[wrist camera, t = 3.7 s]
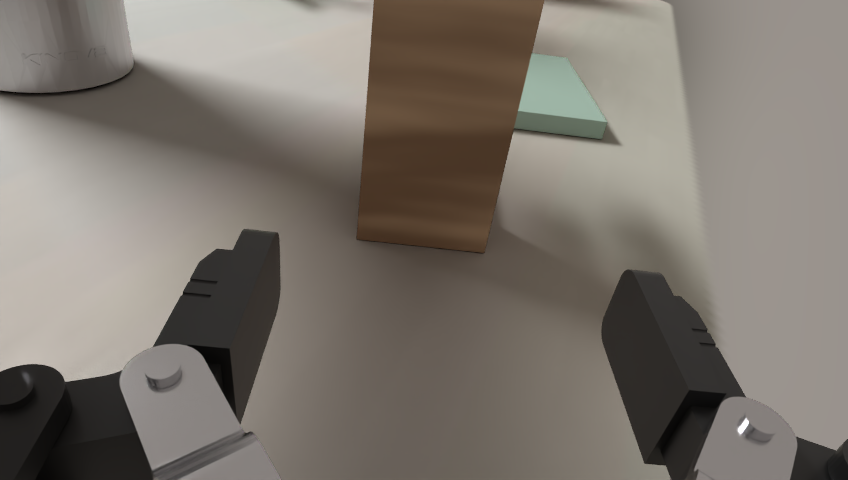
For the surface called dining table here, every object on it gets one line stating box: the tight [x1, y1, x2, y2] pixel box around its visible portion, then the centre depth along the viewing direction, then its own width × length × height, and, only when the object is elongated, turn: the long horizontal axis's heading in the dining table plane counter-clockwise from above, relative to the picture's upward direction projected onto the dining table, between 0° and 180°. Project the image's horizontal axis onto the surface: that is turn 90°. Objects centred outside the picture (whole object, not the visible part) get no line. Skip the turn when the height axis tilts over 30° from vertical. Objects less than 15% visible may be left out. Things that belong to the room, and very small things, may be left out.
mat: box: [514, 53, 607, 139], centre depth 41 cm, size 13×13×1 cm
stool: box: [357, 0, 544, 253], centre depth 25 cm, size 10×6×11 cm, turn 0°
